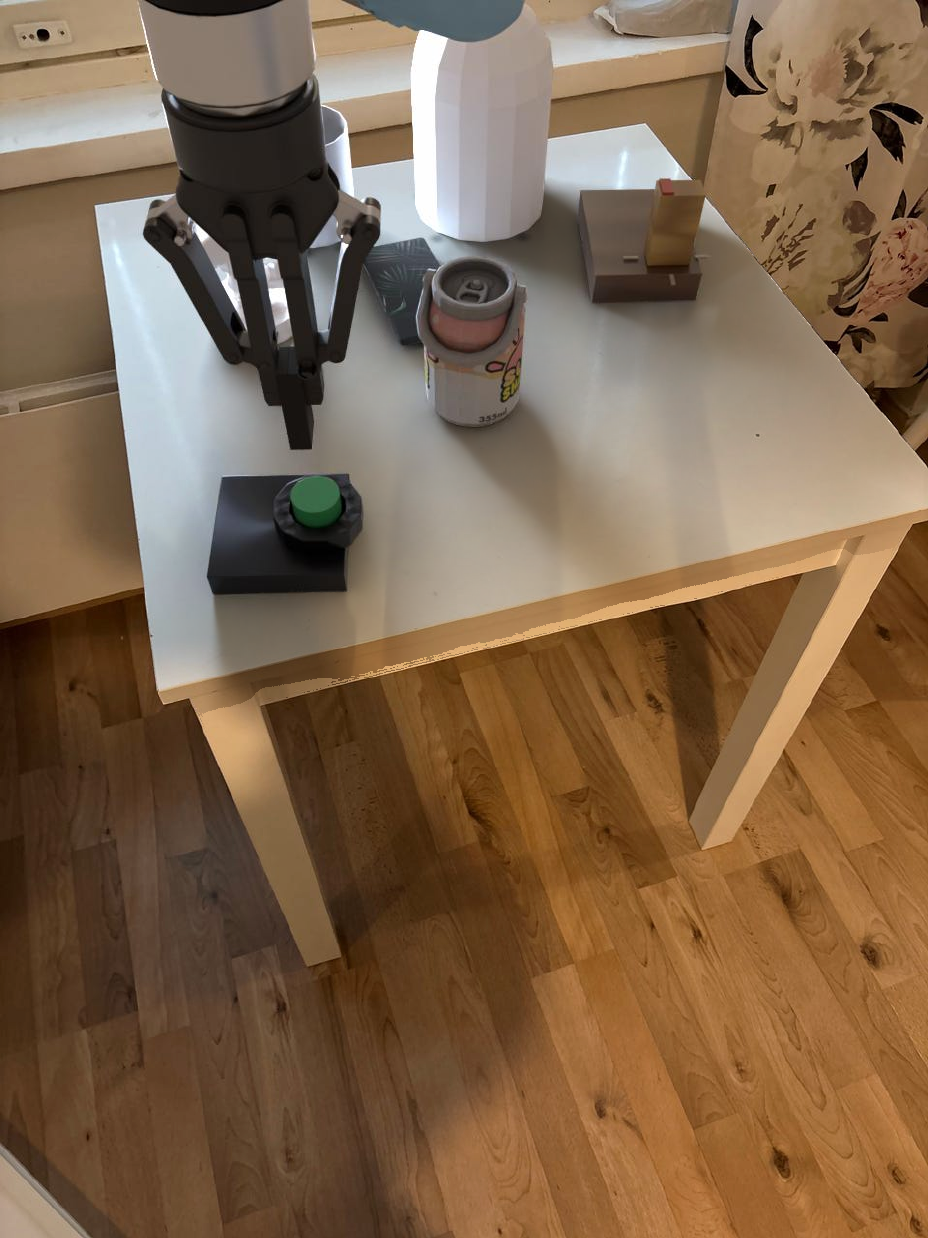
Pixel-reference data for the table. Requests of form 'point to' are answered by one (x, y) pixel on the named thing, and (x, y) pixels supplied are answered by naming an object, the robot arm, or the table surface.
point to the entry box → (279, 538)
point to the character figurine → (223, 263)
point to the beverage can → (472, 339)
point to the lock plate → (628, 251)
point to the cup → (335, 167)
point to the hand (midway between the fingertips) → (302, 435)
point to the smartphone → (400, 282)
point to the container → (482, 130)
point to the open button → (316, 501)
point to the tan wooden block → (673, 221)
